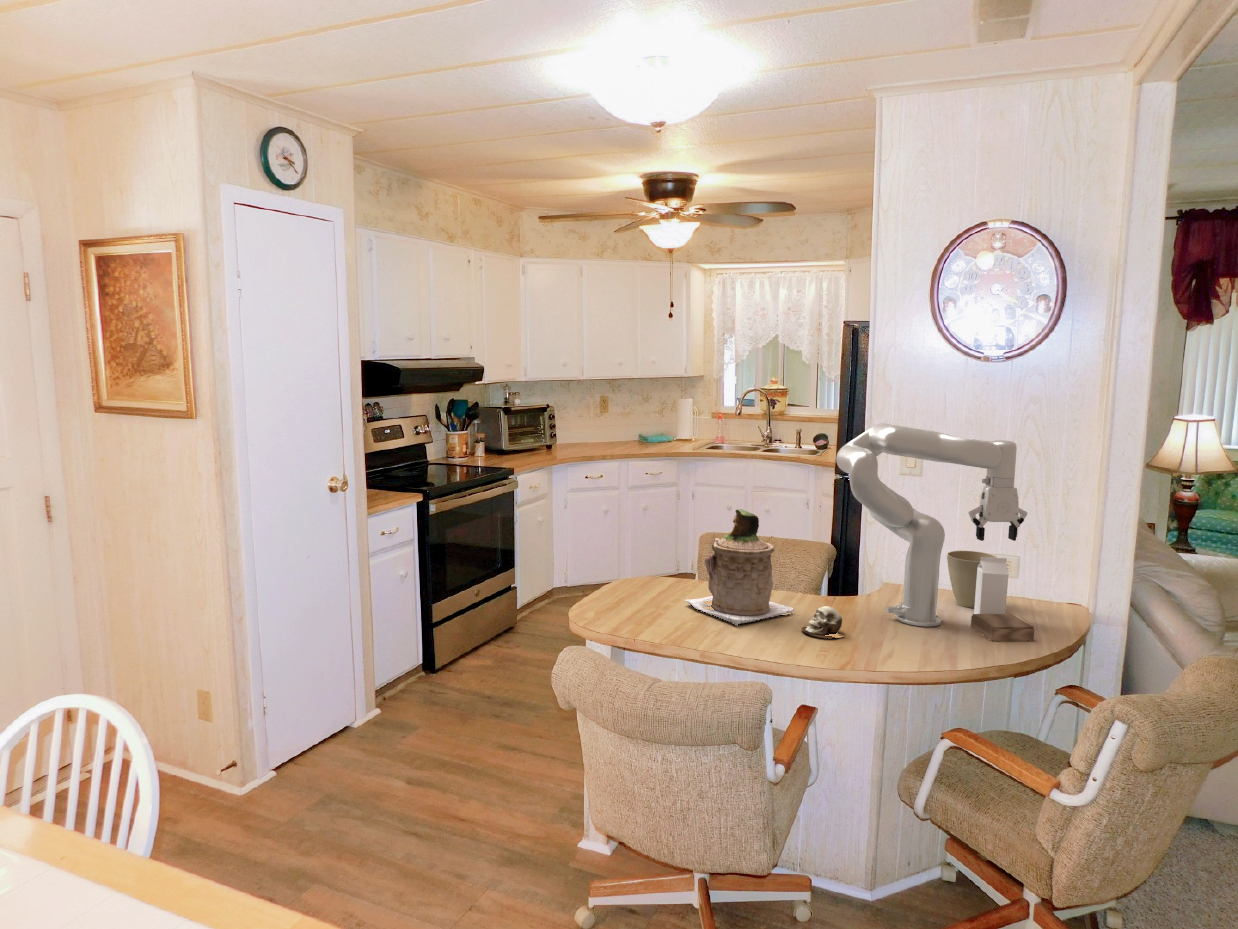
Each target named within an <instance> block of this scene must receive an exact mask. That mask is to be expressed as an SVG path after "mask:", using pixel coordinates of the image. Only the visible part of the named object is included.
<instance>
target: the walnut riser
mask: <svg viewBox="0 0 1238 929" xmlns="http://www.w3.org/2000/svg"><path fill="white" fill-rule="evenodd" d="M970 620H971V621H970V628H971V627H972V629H973V630H974V631H976V632H977V633H979V632H980V633H981V634H980V633H979V634H980V635H982V634H983V635H984V636H983V635H982V636H983V637H985V638H986V637H987V638H986V639H988V638H989V639H990V640H991V641H990V640H989V639H988V640H989V641H990V642H1034V640H1035V628H1034V626H1033V625H1031V624H1029V623H1027V622H1026V621H1024V620H1022V618H1019V617H1018V616H1016V615H1014V614H1012V613H1005V614H974V613H973V614H972V615H971V619H970ZM992 640H993V641H992ZM1027 640H1029V641H1027Z"/></svg>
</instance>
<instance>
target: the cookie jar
mask: <svg viewBox="0 0 1238 929" xmlns="http://www.w3.org/2000/svg"><path fill="white" fill-rule="evenodd" d="M732 520H733V521H732V523H733V524H734V525H733V527H732V530H731V531H730V532H728V533H726V534H724V535H723V536H721V538H718V537H717V538H714V540H713V542H712V545H711V548H712V550H713V552H714V554H713V553H711V554H709V557H706V558H705V559H704V566H705V568H706V572H707V574H708V577H709V578H708V582H707V583H708V590H709V592H710V593H711V595H710V596H709V595H708V596H707V597H706V596H705V597H701V598H700V597H699V598H694V599H691V598H689V599H684V601H685V602H686V603H687V604H689V605H690V606H691V605H692V606H693V607H695V608H698V609H699V610H702V611H703V612H702V611H701V612H702V613H704V612H706V613H705V614H707V613H709V614H712V615H714V616H713V617H715V616H716V617H715V618H717V617H719V618H718V619H720V618H721V619H720V620H722V619H725V620H727V621H730V622H732V623H731V624H733V623H734V624H736V625H738V624H739V625H741V624H745V623H751V622H756V620H757V621H761V620H760V619H762V620H766V619H770V618H769V617H771V618H775V617H774V616H777V617H779V616H778V615H782V614H786V613H792V614H793V612H794V608H793V607H791V606H788V605H785V604H780V603H777V602H774V601H770V600H771V595H772V592H773V583H774V582H773V565H772V558H771V555H772V554H773V553H774V552H775V546H774V545H773V544H772V543H769V542H765V541H764V540H763V539H761V538H759V537H758V536H757V534H758V531H759V527H760V520H759V517H758V516H757V515H756V514H754V513H752V512H749V511H747V510H744V509H742V508H738V509H736V510H735V515H734V517H733V519H732ZM703 601H712V605H711V607H712V608H713V609H714V610H710V609H708V608H707V610H706V609H705V608H703V607H710V606H708V605H707V604H706V603H704V602H703ZM692 606H691V607H692ZM693 607H692V608H693ZM770 607H771V608H770ZM709 614H708V615H709ZM712 615H711V616H712ZM765 618H766V619H765ZM725 620H724V621H725ZM727 621H726V622H727ZM730 622H729V623H730ZM734 624H733V625H734ZM736 625H735V626H736Z"/></svg>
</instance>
